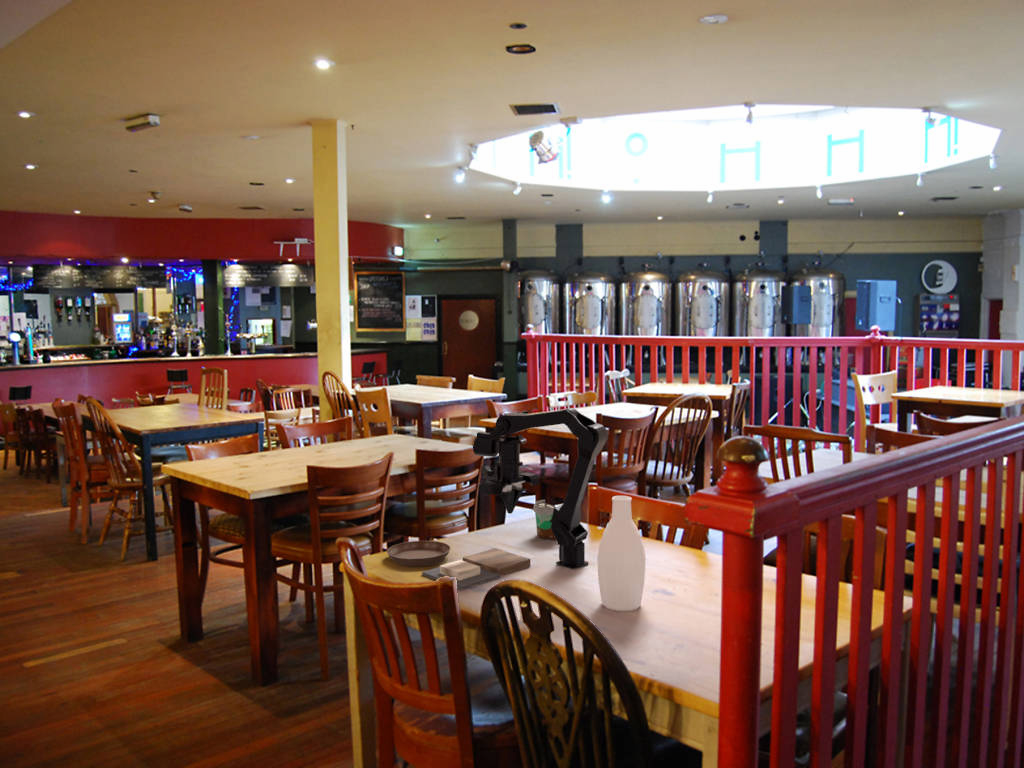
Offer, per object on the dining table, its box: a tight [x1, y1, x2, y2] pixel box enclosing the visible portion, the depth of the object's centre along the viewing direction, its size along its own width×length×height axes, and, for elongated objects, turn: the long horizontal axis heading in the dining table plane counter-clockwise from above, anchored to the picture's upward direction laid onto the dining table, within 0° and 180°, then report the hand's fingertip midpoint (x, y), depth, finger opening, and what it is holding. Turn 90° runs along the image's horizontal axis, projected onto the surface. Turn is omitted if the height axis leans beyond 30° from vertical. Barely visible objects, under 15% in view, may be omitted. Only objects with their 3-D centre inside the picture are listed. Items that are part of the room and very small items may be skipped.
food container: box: [532, 499, 557, 541], centre depth 241 cm, size 12×6×10 cm, turn 25°
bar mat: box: [421, 566, 501, 591], centre depth 206 cm, size 16×13×1 cm
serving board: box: [462, 547, 531, 577], centre depth 215 cm, size 14×12×2 cm
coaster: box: [439, 559, 480, 581], centre depth 206 cm, size 8×7×2 cm
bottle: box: [597, 495, 647, 612], centre depth 184 cm, size 11×11×25 cm
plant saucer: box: [386, 540, 452, 567], centre depth 222 cm, size 18×18×3 cm
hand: (509, 513), depth 223 cm, fingers closed
